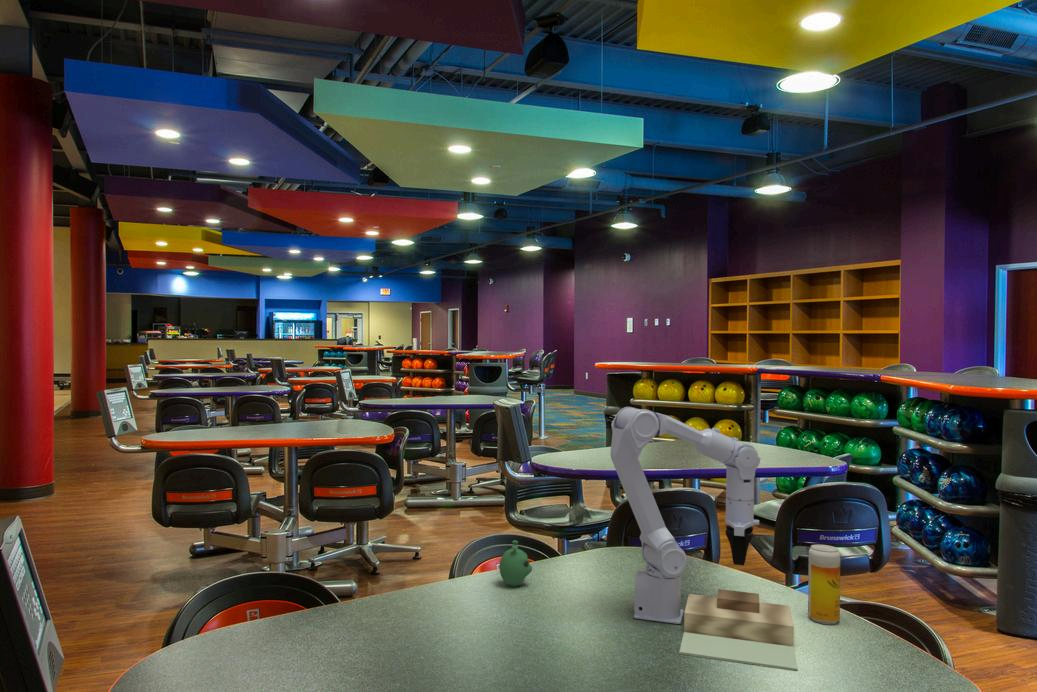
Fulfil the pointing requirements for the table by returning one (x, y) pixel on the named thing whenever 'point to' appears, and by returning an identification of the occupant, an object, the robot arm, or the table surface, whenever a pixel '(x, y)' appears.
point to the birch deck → (739, 621)
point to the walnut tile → (738, 601)
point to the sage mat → (738, 651)
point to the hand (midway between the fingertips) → (738, 562)
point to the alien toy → (514, 566)
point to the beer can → (824, 584)
